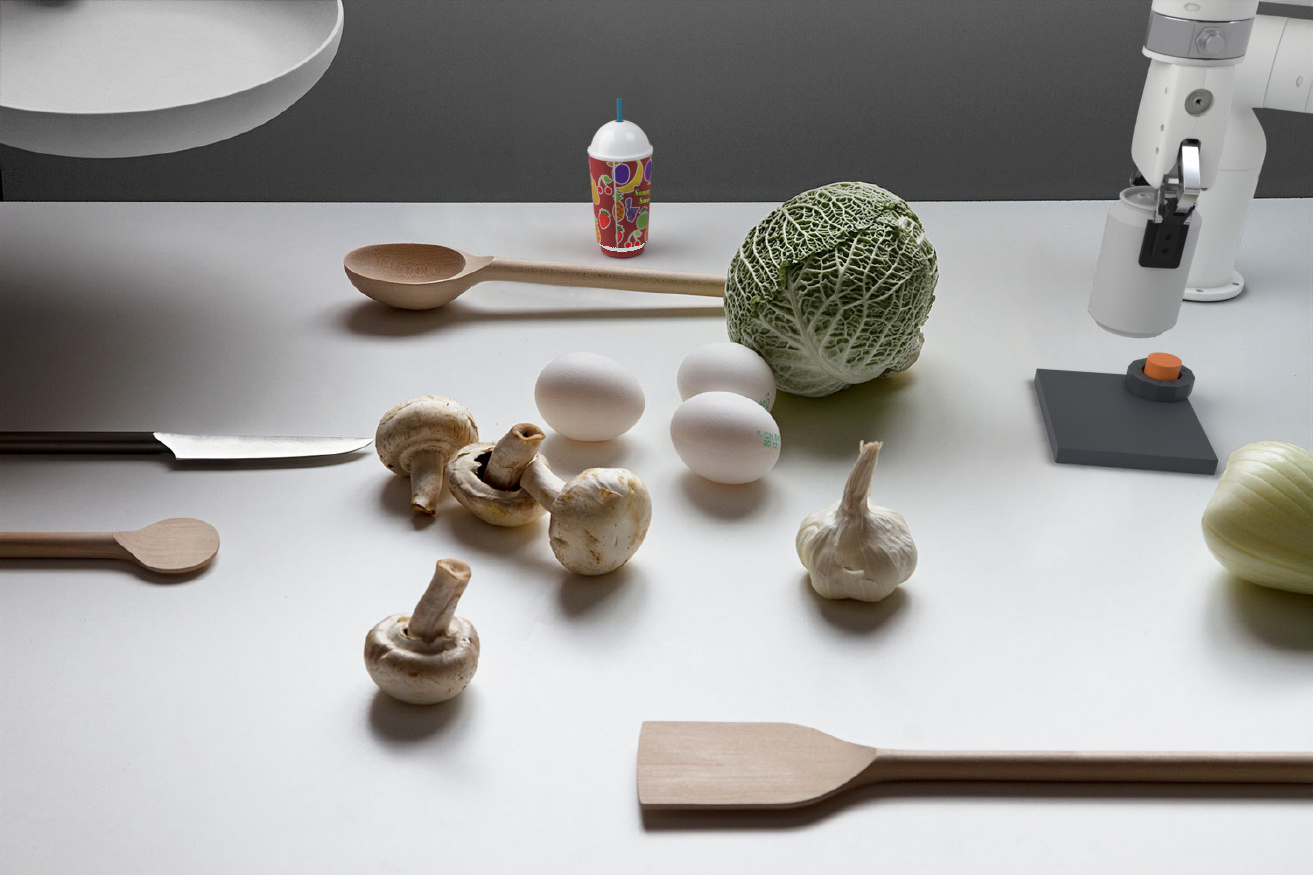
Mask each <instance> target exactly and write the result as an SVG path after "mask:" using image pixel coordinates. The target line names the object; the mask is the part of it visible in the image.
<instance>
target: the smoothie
mask: <svg viewBox="0 0 1313 875" xmlns="http://www.w3.org/2000/svg"><path fill="white" fill-rule="evenodd" d="M586 152H587V155H588V166H589V174H590V175H589V176H590V186H591V194H592V195H591V196H592V206H593V215H594V216H593V217H594V225H595V237H596V242H597V241H598V242H599V243H600V244H601V245H603V246H609V247H612V248H613V247H614V248H615V247H616V248H629V247H634V246H640V245H642V244H643V243H646V241H647V240H648V241H649V227H650V207H651V205H650V204H651V191H652V190H651V189H652V188H651V187H652V169H653V168H652V167H653V155H654V154H653V153H654V147H653V145H652V144H651V142H650V140H649V138H648V136H647V135H646V133H645V132H644V131H643V129H642V128H641V127H640V126H639V125H638V124H636V123H634V122H632V121H630V120H627V119H623V99H622V98H621V97H617V98H616V119H614V120H610V121H608V122H606V123H605V124H603V125H602V126H601V127H599V129H598V130H597V131H596V132H595V134H594V135H593V137H592V140H591V143H590V145H589V146H588V147H587V151H586ZM646 244H647V243H646ZM645 246H646V245H644V246H643V247H642V248H640V249H637V250H634V251H627V252H617V251H610V250H607V249H605V248H603V247H602V246H600V250H601V253H602V254H604V255H606V256H608V257H612V258H619V259H627V258H633V257H636V256H638V255H640V254H642V253H643V252H644V251H645Z"/></svg>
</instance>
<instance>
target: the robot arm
mask: <svg viewBox="0 0 1313 875" xmlns="http://www.w3.org/2000/svg"><path fill="white" fill-rule="evenodd" d="M1260 2H1262V3H1273V4H1284V5H1292V6H1293V5H1294V6H1303V7H1305V6H1306V7H1313V0H1152V3H1151V7H1150V8H1151V9H1150V12H1149V17H1148V20H1147V27H1146V32H1145V35H1144V41H1143V46H1142V50H1141V53H1142V54H1143V56H1144V57H1147V58H1148V59H1151V60H1150V64H1149V67H1148V69H1147V75H1146V78H1145V83H1144V86H1143V91H1142V94H1141V99H1140V103H1139V106H1138V111H1137V116H1136V119H1135V120H1136V121H1135V124H1134V131H1133V136H1132V142H1131V149H1130V150H1131V151H1130V152H1131V158H1132V161H1133V162H1134V165H1133V168H1132V171H1131V173H1130V176H1129V186H1128V187H1127V188H1130V187H1136V186H1152V187H1153V188H1155V195H1154V207H1153V220H1152V219H1148V220H1147V224H1146V229H1145V233H1144V237H1143V242H1142V246H1141V251H1140V255H1139V259H1138V263H1139V265H1140V266H1141V267H1146V268H1164V269H1176V268H1178V267H1179V265H1180V262H1181V258H1182V254H1183V250H1184V246H1185V242H1186V238H1187V234H1188V230H1189V226H1190V224H1191V221H1192V213H1193V210H1194V209H1196V210H1197V211H1198V213H1199V214H1200V216H1201V217H1202V225H1201V228H1200V232H1199V236H1198V240H1197V244H1196V248H1195V252H1194V256H1193V260H1192V264H1191V268H1190V272H1189V276H1188V280H1187V284H1186V287H1185V291H1184V295H1183V299H1182V300H1188V301H1199V302H1215V301H1216V302H1217V301H1224V300H1230V299H1231V298H1232V299H1233V298H1235V297H1237V296H1238V295H1240V294H1241V292H1242V291H1243V289H1244V285H1245V279H1244V277H1243V276H1242V274H1241V273H1240V272H1238V270H1236V269H1235V264H1236V262H1237V258H1238V254H1239V252H1240V251H1239V250H1240V247H1241V243H1242V240H1243V236H1244V232H1245V229H1246V227H1247V226H1246V225H1247V222H1248V218H1249V214H1250V211H1251V208H1252V204H1253V201H1254V196H1255V193H1256V190H1257V186H1258V182H1259V179H1260V175H1261V171H1262V168H1263V165H1264V161H1265V157H1266V153H1267V139H1266V138H1267V137H1266V134H1265V132H1264V129H1263V127H1262V125H1261V122H1260V121H1259V119H1258V117H1257V116H1256V113H1255V111H1254V108H1256V109H1257V108H1258V109H1264V108H1266V109H1271V110H1272V109H1273V110H1280V111H1288V112H1296V113H1305V114H1313V19H1305V18H1294V17H1290V16H1278V15H1267V14H1257V11H1258V7H1259V3H1260ZM1165 193H1169V194H1176V197H1171V198H1170V199H1169V201H1167V203H1166V205H1165V206H1164V203H1165ZM1196 200H1198V206H1197V207H1196V208H1195V206H1196V205H1195V202H1196Z"/></svg>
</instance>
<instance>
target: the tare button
mask: <svg viewBox="0 0 1313 875" xmlns="http://www.w3.org/2000/svg"><path fill="white" fill-rule="evenodd" d="M1146 358H1147V361H1146V365H1145V369H1144V374H1146V375H1147V376H1149V377H1151V378H1154V379H1158V380H1164V381H1173V380H1177V379H1178V376H1179V372H1180V368H1181V365H1183V361H1182V359H1180V357H1179V356H1176V355H1174V354H1171V353H1168V352H1161V351H1159V352H1158V351H1157V352H1152V353H1149V354H1148V356H1147V357H1146Z"/></svg>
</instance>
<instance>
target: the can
mask: <svg viewBox="0 0 1313 875" xmlns="http://www.w3.org/2000/svg"><path fill="white" fill-rule="evenodd" d="M1129 187H1130V188H1128V187H1127V188H1125V189H1123V190H1122V191H1120V192H1119V200H1117V201H1115V202H1114V203H1113V204H1112V205H1111V206H1109V207H1108V210H1107V216H1106V222H1105V226H1104V231H1103V235H1102V240H1101V246H1100V249H1099V255H1098V259H1097V264H1096V268H1095V273H1094V277H1093V278H1094V279H1093V284H1092V288H1091V292H1090V298H1089V302H1088V309H1087V313H1088V314H1089V316H1090V317H1091V318H1092V319H1093V321H1094V322H1095V324H1096V325H1097V327H1099V328H1101V329H1102V330H1104V332H1105V331H1106V332H1108V333H1110V334H1113V335H1116V336H1120V337H1123V338H1131V339H1150V338H1151V339H1152V338H1156V337H1158V336H1161V335H1163V333H1165V332H1167V331H1169V330H1172V329H1173V328H1174V327H1175V326H1176V325H1177V323H1178V318H1179V316H1180V315H1179V314H1180V311H1181V307H1182V304H1183V300H1184V299H1183V295H1184V291H1185V287H1186V284H1187V280H1188V276H1189V272H1190V268H1191V264H1192V260H1193V256H1194V252H1195V248H1196V244H1197V240H1198V236H1199V232H1200V228H1201V225H1202V217H1201V216H1200V214H1199V213H1198V211H1197V210H1196V209H1194V210H1193V213H1192V221H1191V224H1190V226H1189V230H1188V234H1187V238H1186V242H1185V246H1184V250H1183V254H1182V258H1181V262H1180V265H1179V267H1178V268H1176V269H1164V268H1146V267H1141V266H1140V265H1139V263H1138V259H1139V255H1140V251H1141V246H1142V242H1143V237H1144V233H1145V229H1146V224H1147V220H1148V219H1152V220H1153V207H1154V195H1155V188H1153V187H1152V186H1129ZM1171 197H1176V194H1169V193H1165V203H1164V206H1165V205H1166V203H1167V201H1169V199H1170V198H1171ZM1195 205H1196V206H1195V208H1196V207H1197V206H1198V200H1196V202H1195Z"/></svg>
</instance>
